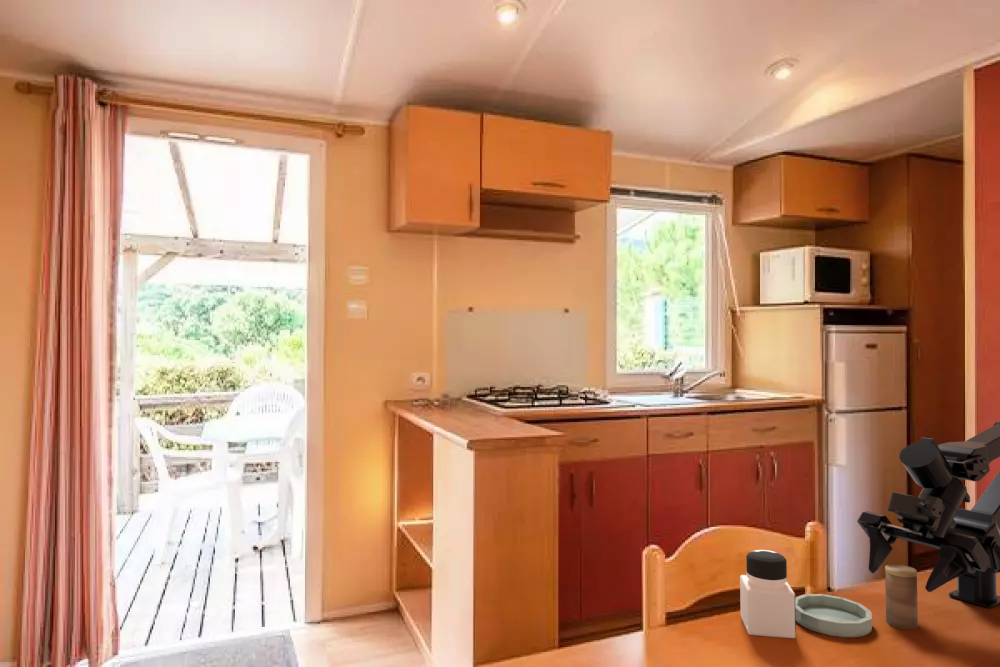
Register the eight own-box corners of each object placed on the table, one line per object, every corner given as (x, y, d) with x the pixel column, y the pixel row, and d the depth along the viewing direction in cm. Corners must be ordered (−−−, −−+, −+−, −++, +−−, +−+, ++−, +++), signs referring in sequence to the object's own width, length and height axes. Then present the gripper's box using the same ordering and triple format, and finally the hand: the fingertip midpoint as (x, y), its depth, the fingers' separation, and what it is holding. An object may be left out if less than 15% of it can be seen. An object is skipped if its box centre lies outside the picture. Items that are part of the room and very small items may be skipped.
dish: (819, 601, 113) (819, 589, 113) (886, 626, 103) (886, 612, 103) (777, 616, 107) (777, 603, 107) (844, 643, 97) (844, 629, 97)
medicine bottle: (796, 639, 98) (795, 562, 99) (748, 635, 100) (747, 559, 100) (785, 620, 105) (784, 547, 106) (740, 616, 107) (739, 545, 107)
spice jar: (895, 616, 107) (894, 562, 107) (923, 625, 103) (922, 570, 103) (880, 621, 104) (879, 567, 105) (908, 632, 101) (907, 575, 101)
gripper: (862, 465, 114) (822, 535, 109) (978, 486, 98) (937, 569, 93) (890, 504, 118) (853, 573, 113) (1006, 530, 101) (968, 613, 96)
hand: (898, 580), depth 103 cm, fingers open, 9 cm apart
